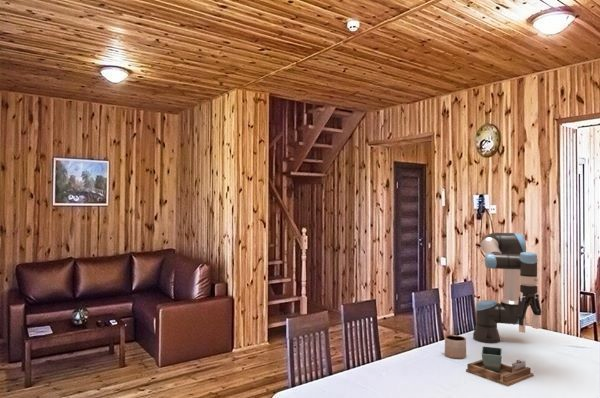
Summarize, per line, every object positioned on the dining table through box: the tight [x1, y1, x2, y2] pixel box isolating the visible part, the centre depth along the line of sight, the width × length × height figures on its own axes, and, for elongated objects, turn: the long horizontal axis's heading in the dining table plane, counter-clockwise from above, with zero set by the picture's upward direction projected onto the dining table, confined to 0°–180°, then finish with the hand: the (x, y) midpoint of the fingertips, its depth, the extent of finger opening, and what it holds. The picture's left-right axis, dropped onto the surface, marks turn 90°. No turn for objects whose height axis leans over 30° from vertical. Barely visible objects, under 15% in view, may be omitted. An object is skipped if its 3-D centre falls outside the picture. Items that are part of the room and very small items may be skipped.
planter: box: [444, 334, 467, 360], centre depth 234 cm, size 11×11×10 cm
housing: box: [465, 359, 535, 387], centre depth 208 cm, size 21×22×4 cm
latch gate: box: [511, 359, 527, 372], centre depth 205 cm, size 2×9×6 cm, turn 124°
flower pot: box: [480, 345, 503, 371], centre depth 210 cm, size 9×9×9 cm
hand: (528, 330), depth 211 cm, fingers open, 11 cm apart
